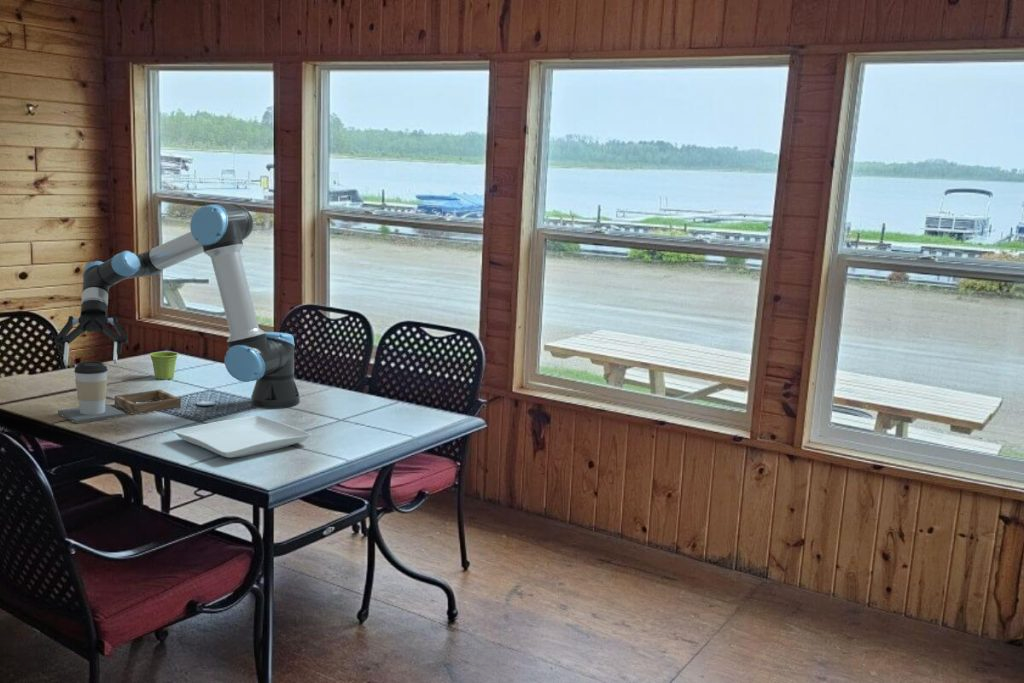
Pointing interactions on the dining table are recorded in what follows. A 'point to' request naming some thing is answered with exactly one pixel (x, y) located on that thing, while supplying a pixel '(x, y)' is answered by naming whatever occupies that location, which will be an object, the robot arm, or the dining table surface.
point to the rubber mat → (77, 417)
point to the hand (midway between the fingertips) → (90, 362)
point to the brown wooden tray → (130, 402)
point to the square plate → (243, 436)
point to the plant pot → (164, 364)
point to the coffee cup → (91, 387)
